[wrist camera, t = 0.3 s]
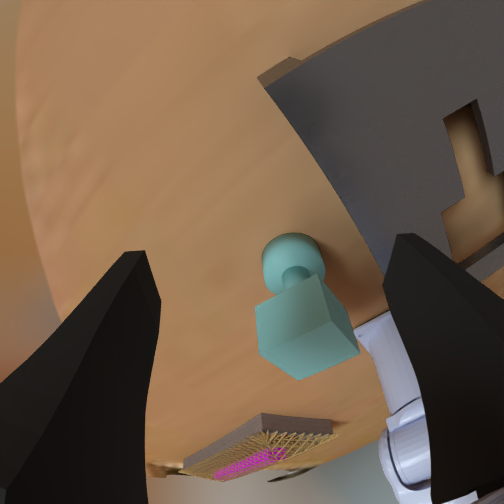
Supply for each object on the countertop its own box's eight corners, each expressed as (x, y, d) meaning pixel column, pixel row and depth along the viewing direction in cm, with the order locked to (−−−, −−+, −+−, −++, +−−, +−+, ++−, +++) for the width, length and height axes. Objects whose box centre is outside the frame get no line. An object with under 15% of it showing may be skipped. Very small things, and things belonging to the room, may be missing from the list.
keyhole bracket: (527, 202, 20) (552, 226, 17) (392, 291, 25) (408, 325, 22) (470, -25, 9) (511, -25, 6) (256, 77, 14) (264, 88, 11)
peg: (328, 259, 22) (360, 353, 16) (281, 285, 23) (298, 380, 17) (300, 222, 20) (331, 320, 14) (250, 253, 21) (259, 354, 15)
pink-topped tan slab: (237, 464, 62) (238, 487, 57) (178, 458, 57) (177, 482, 52) (337, 415, 43) (344, 449, 39) (258, 407, 38) (261, 448, 34)
